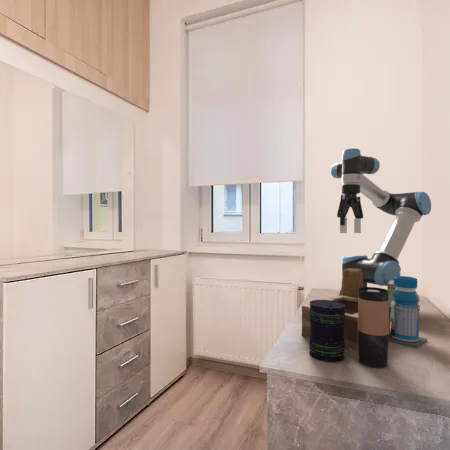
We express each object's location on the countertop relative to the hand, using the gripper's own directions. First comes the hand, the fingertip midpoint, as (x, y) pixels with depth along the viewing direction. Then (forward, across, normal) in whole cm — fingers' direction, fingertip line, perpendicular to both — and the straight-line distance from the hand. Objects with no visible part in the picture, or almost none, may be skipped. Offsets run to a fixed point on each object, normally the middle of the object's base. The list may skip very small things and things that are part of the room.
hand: (350, 233), depth 139 cm
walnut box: (+35, -28, -12) cm, 46 cm away
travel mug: (+35, -46, -28) cm, 64 cm away
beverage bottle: (+34, -20, -28) cm, 48 cm away
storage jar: (+35, -51, -17) cm, 64 cm away
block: (+35, -6, -4) cm, 36 cm away
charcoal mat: (+35, -20, -28) cm, 49 cm away
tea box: (+35, +8, -18) cm, 40 cm away
